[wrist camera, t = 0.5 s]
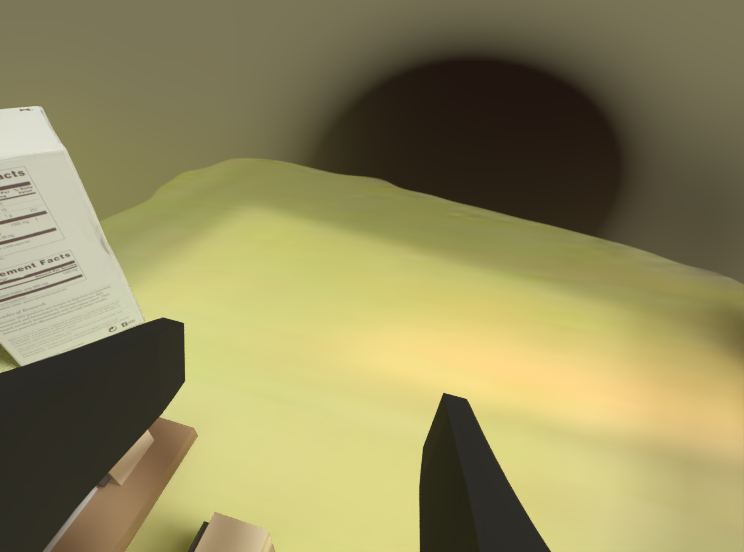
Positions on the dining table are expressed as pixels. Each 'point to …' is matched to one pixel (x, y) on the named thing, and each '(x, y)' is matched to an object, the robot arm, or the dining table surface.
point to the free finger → (231, 536)
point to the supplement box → (52, 249)
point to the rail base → (126, 492)
